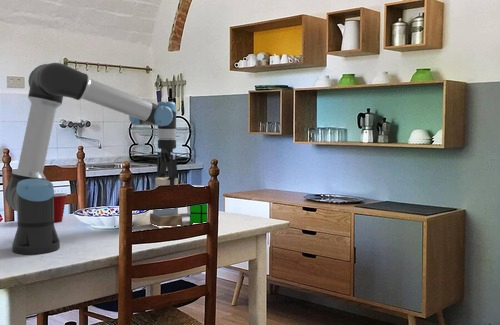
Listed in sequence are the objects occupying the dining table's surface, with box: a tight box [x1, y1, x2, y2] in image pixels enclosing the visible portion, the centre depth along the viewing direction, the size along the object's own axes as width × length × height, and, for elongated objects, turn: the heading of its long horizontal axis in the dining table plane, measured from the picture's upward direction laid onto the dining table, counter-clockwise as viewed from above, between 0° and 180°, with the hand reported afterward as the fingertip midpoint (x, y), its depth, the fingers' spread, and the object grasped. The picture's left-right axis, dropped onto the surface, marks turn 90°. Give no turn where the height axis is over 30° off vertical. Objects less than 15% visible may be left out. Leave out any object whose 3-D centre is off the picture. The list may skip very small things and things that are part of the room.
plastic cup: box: [54, 192, 68, 224], centre depth 237 cm, size 11×11×12 cm
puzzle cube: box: [189, 204, 207, 225], centre depth 240 cm, size 10×10×10 cm
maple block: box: [155, 176, 179, 188], centre depth 232 cm, size 7×7×7 cm
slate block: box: [152, 207, 179, 216], centre depth 233 cm, size 9×5×4 cm, turn 121°
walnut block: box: [149, 212, 183, 226], centre depth 233 cm, size 10×10×5 cm
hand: (166, 193), depth 233 cm, fingers closed on maple block, 7 cm apart
